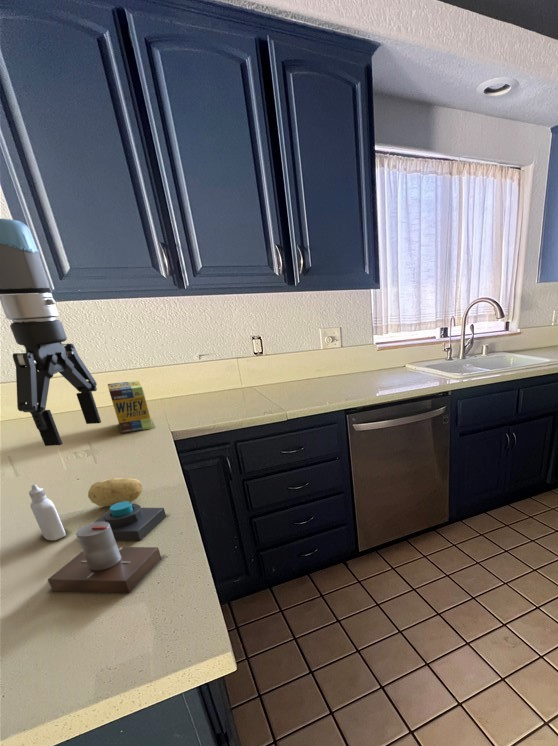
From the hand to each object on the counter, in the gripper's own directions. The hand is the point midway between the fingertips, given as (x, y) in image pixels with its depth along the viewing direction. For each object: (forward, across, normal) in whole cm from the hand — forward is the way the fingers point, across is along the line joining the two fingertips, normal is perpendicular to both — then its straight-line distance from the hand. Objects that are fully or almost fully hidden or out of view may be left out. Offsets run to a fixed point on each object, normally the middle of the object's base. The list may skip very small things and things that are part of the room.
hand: (75, 433), depth 85 cm
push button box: (+21, -2, -5) cm, 22 cm away
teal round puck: (+17, -2, -5) cm, 18 cm away
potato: (+21, +10, +2) cm, 24 cm away
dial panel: (+21, -19, -10) cm, 30 cm away
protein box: (+21, +76, +28) cm, 84 cm away
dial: (+18, -19, -10) cm, 28 cm away
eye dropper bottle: (+21, -4, +9) cm, 23 cm away
